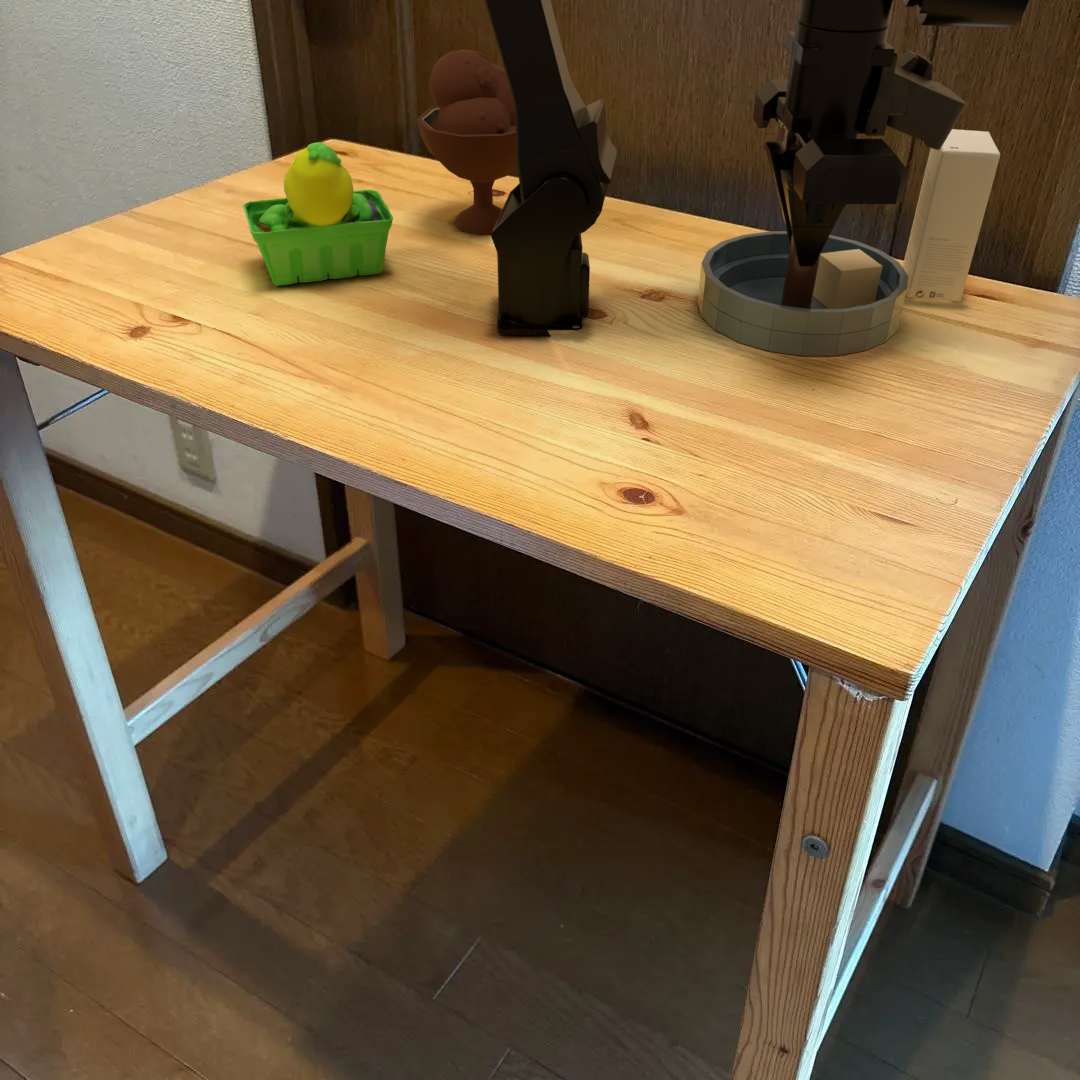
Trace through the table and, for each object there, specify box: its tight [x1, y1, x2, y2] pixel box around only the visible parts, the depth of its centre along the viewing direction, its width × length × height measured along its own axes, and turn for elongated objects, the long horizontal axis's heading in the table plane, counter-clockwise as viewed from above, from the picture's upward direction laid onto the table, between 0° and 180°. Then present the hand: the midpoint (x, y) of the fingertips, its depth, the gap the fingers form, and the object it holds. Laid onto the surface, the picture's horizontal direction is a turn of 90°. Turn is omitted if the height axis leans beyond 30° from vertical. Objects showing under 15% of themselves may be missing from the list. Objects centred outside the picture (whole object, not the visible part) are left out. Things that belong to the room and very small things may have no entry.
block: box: [813, 249, 882, 309], centre depth 80 cm, size 4×4×4 cm
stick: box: [781, 235, 821, 309], centre depth 74 cm, size 2×2×11 cm
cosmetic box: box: [902, 128, 1001, 302], centre depth 81 cm, size 6×4×12 cm
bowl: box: [696, 230, 908, 357], centre depth 80 cm, size 15×15×4 cm
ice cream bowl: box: [416, 48, 518, 235], centre depth 92 cm, size 11×11×15 cm
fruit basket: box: [242, 142, 394, 287], centre depth 84 cm, size 11×9×11 cm
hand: (802, 258), depth 75 cm, fingers closed on stick, 2 cm apart
